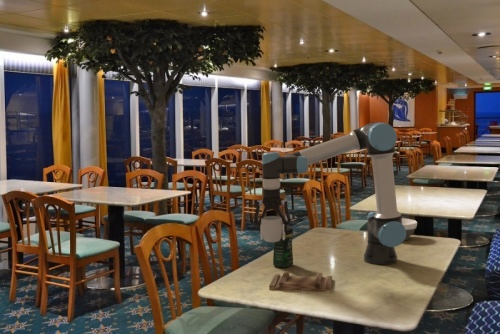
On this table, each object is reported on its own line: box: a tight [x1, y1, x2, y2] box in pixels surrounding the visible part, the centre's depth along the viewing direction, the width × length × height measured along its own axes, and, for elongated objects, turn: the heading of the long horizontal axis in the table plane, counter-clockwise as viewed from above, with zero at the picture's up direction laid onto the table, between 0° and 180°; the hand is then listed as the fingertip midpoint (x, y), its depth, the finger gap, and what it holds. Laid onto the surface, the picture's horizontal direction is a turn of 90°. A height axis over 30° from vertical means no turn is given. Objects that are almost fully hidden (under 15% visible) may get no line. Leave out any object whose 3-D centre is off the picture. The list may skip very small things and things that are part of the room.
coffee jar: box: [272, 224, 294, 268], centre depth 252 cm, size 10×8×19 cm
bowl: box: [402, 217, 418, 241], centre depth 301 cm, size 20×20×10 cm
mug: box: [261, 215, 283, 243], centre depth 240 cm, size 13×9×10 cm
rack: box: [268, 271, 333, 292], centre depth 224 cm, size 24×16×3 cm, turn 79°
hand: (272, 239), depth 241 cm, fingers closed on mug, 9 cm apart
